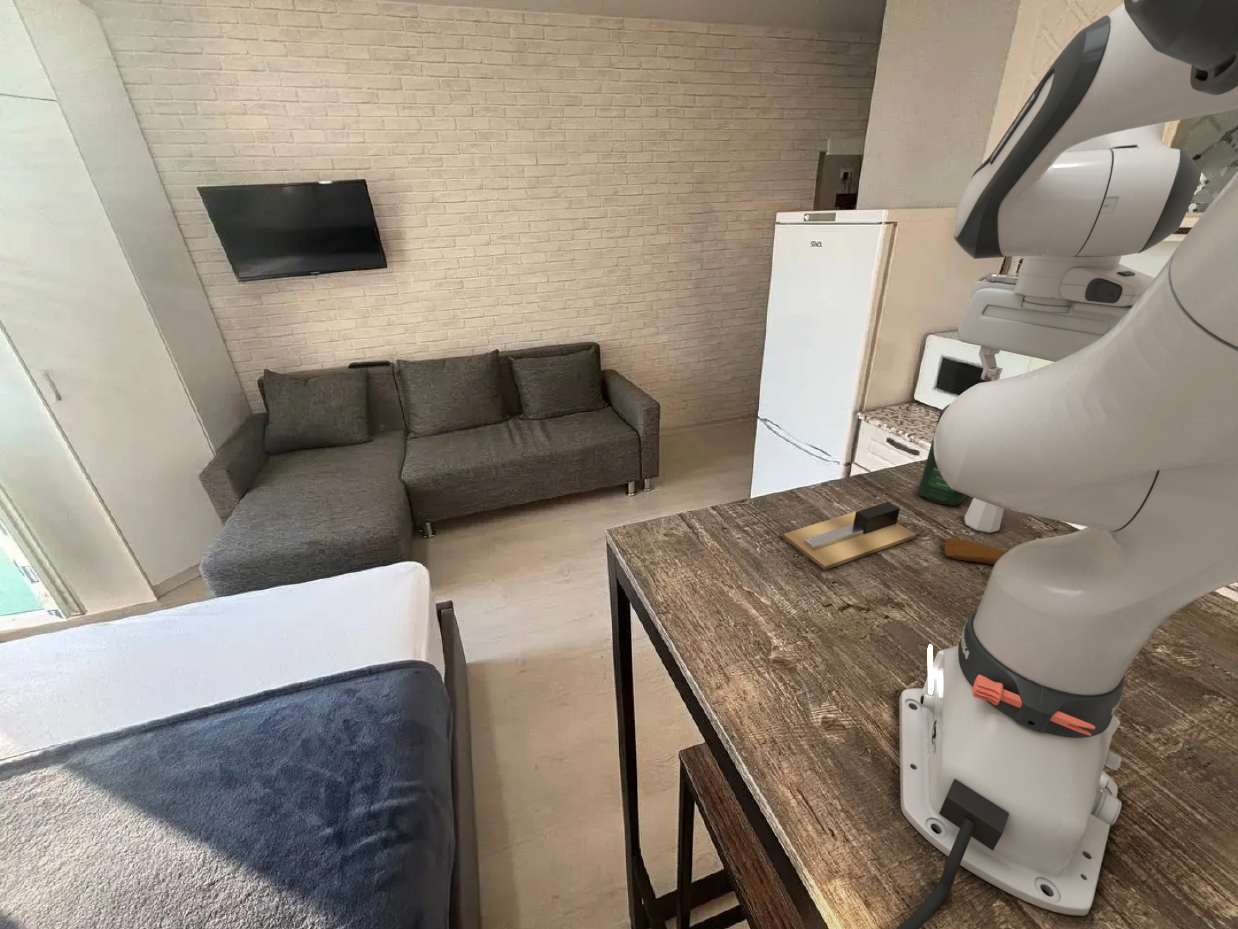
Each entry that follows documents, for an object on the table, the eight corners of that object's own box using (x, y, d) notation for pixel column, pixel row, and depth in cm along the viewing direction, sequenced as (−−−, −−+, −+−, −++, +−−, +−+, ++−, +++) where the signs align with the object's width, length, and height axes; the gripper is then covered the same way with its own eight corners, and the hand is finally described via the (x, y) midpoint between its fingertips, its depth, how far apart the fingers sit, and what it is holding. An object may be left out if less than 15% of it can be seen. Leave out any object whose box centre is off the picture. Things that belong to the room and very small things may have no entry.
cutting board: (824, 570, 80) (825, 566, 80) (782, 537, 89) (783, 533, 88) (915, 538, 87) (916, 534, 87) (868, 510, 96) (869, 506, 95)
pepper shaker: (958, 524, 90) (976, 469, 85) (968, 513, 94) (986, 459, 89) (994, 537, 87) (1014, 480, 82) (1003, 524, 90) (1023, 469, 85)
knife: (813, 551, 84) (816, 535, 82) (802, 542, 86) (805, 526, 84) (896, 523, 90) (900, 508, 88) (884, 516, 92) (887, 501, 91)
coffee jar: (958, 511, 94) (988, 418, 86) (912, 497, 99) (936, 407, 91) (971, 491, 100) (1000, 402, 92) (927, 479, 105) (951, 393, 97)
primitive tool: (944, 557, 82) (950, 539, 81) (944, 539, 87) (949, 522, 85) (1097, 593, 74) (1107, 574, 72) (1088, 572, 78) (1097, 553, 76)
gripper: (962, 273, 68) (936, 373, 75) (1154, 291, 51) (1100, 419, 58) (993, 269, 70) (965, 367, 77) (1188, 286, 54) (1132, 409, 60)
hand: (1024, 389), depth 67 cm, fingers open, 8 cm apart
